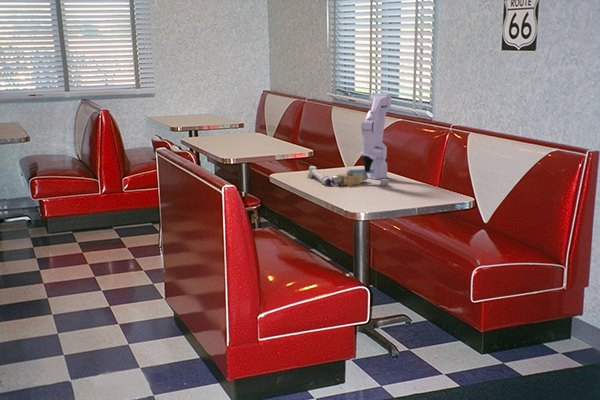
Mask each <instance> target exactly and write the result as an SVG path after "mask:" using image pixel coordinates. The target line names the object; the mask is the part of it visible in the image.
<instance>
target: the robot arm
mask: <svg viewBox="0 0 600 400" xmlns="http://www.w3.org/2000/svg"><path fill="white" fill-rule="evenodd" d="M370 94H371V95H370V104H371V109H370V110H368V112H367V114H366V116H365V119H364V120H362V121H361V136H362V145H361V147H362V148H361V149H362V150H361V151H359V155H360V156H363V157H360V158H361V161H362V163H363V167H364V168H363V169H365V172H370V169H374V173H368V178H367V179H371V180H372V179H373V180H381V179H388V178H389V177H388V162H386V159H387V155H388V154H387V153H388V152H387V151H388V150H387V149H388V148H387V145H386V144H385V143H383V137H384V131H385V123H386V115H387V112H388V111H390V109H391V106H392V104H391V103H392V94H391V93H390V92H388V93H387V92H372V93H370Z"/></svg>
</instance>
